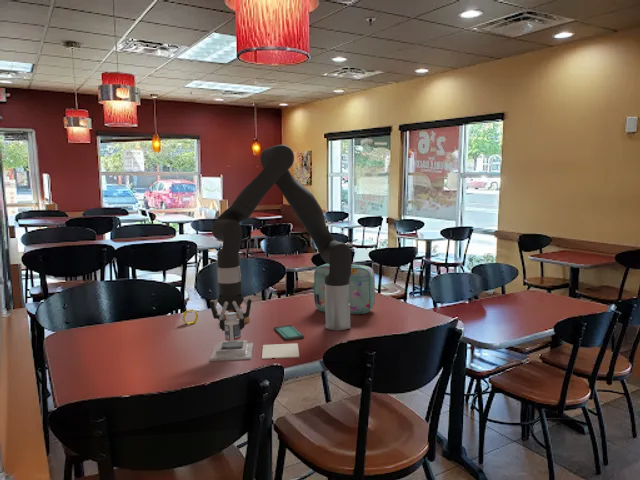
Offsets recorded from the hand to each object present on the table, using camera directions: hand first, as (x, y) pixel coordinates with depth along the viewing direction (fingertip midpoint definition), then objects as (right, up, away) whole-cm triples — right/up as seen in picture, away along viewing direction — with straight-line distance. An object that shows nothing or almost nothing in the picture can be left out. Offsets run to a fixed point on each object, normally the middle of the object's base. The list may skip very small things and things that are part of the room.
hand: (232, 329), depth 161 cm
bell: (-5, -4, +35) cm, 35 cm away
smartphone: (+17, -6, +20) cm, 27 cm away
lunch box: (+39, -1, +47) cm, 61 cm away
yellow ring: (-23, -4, +34) cm, 41 cm away
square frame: (0, -8, +1) cm, 8 cm away
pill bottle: (0, -4, +1) cm, 4 cm away
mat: (+16, -8, +1) cm, 18 cm away
